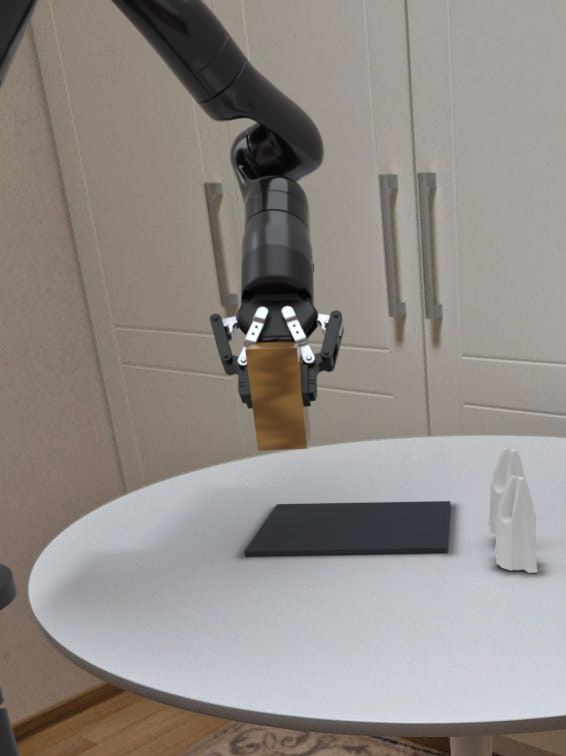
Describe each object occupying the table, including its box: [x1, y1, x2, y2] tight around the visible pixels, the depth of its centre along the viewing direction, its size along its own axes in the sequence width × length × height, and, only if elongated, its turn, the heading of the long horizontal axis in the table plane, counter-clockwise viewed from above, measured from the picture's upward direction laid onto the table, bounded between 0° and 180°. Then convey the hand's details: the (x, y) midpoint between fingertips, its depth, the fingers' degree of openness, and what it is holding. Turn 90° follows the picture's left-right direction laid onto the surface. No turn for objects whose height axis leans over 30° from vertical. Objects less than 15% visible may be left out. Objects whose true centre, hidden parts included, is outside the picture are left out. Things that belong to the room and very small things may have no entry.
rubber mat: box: [243, 500, 451, 557], centre depth 104 cm, size 22×18×1 cm
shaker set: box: [487, 447, 539, 574], centre depth 93 cm, size 12×4×11 cm, turn 5°
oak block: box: [245, 341, 312, 452], centre depth 91 cm, size 5×5×10 cm
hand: (278, 402), depth 90 cm, fingers closed on oak block, 5 cm apart
